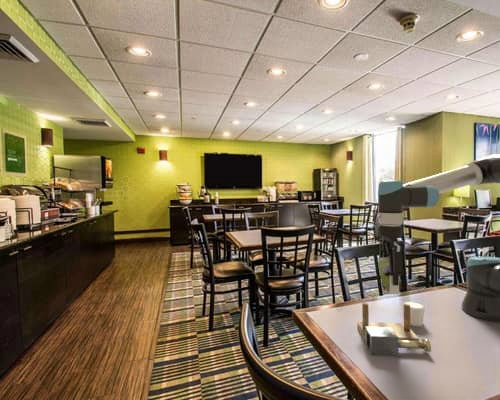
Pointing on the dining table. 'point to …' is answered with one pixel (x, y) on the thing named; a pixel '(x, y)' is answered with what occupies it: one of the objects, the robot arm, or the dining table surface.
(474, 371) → the dining table surface
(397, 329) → the peg stand
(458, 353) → the dining table surface
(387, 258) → the beverage can
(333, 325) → the dining table surface
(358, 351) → the dining table surface
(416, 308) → the beige tapered cylinder
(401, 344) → the pin
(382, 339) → the slot block
